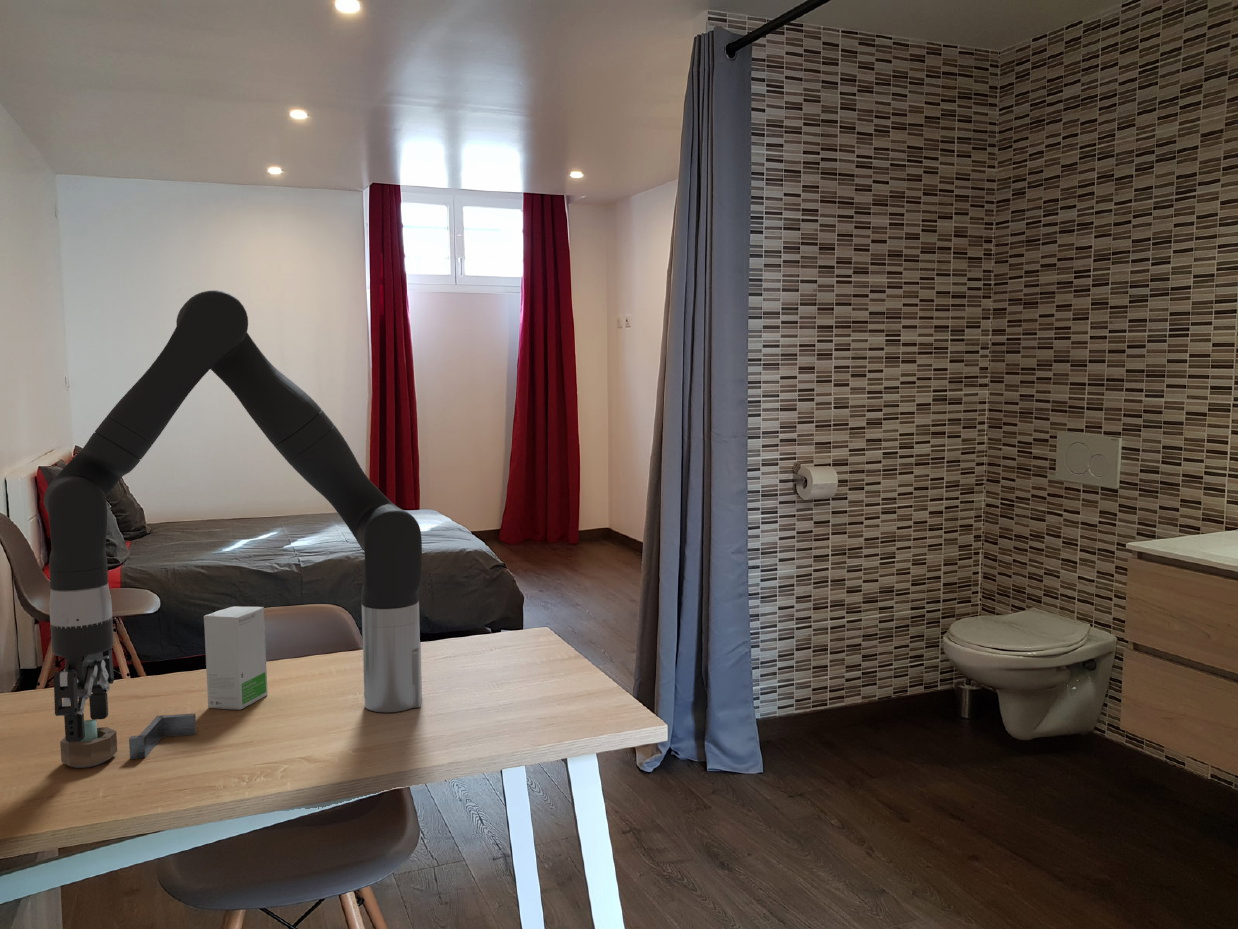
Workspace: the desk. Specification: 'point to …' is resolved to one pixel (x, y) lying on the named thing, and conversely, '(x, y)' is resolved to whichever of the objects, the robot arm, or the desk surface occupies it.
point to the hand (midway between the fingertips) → (87, 729)
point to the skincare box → (235, 657)
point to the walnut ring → (90, 749)
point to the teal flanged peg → (90, 737)
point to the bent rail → (161, 733)
